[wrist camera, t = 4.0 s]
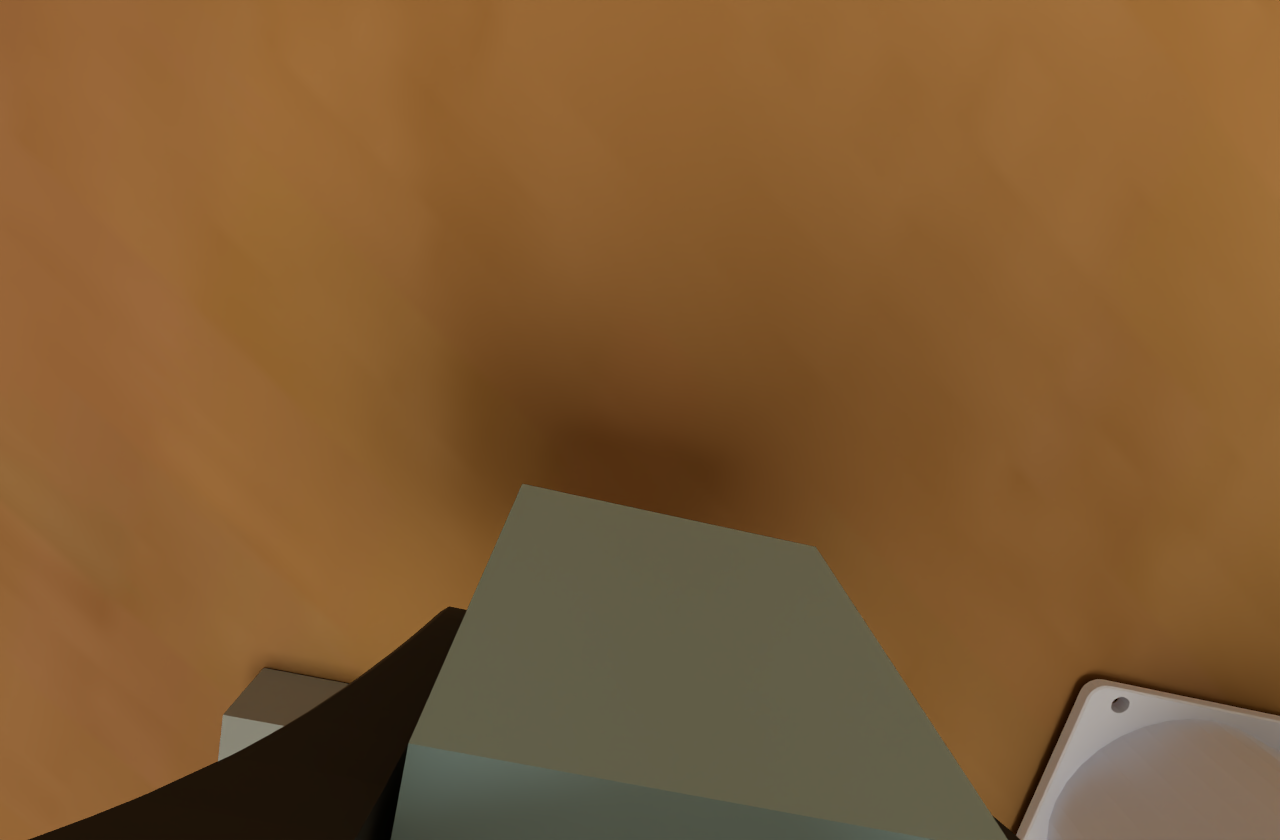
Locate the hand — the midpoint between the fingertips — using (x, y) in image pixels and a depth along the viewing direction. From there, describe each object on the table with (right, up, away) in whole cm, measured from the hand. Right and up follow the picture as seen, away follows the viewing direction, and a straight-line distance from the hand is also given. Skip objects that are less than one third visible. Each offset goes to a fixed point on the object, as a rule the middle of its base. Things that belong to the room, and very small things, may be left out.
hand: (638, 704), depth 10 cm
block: (0, 0, +1) cm, 2 cm away
